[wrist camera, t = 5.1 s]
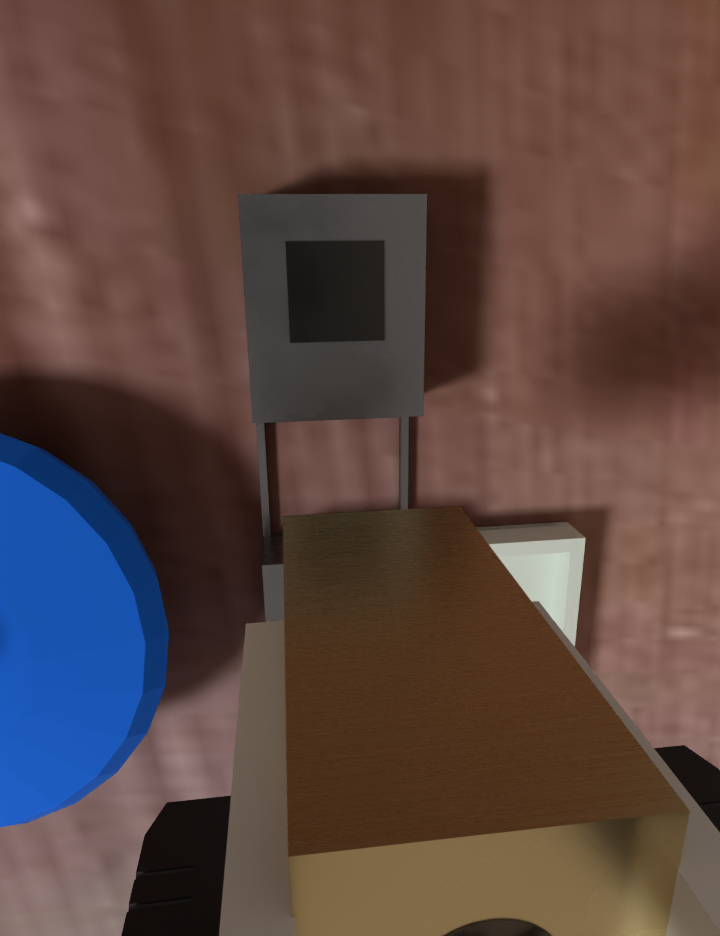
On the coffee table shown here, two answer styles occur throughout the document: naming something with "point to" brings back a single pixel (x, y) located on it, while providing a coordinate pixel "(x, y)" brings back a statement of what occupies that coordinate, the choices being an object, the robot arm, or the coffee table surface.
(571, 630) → the parts tray
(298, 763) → the wooden drawer with knob
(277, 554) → the rack rail
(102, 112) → the coffee table surface
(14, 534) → the blue funnel disc
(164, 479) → the coffee table surface
